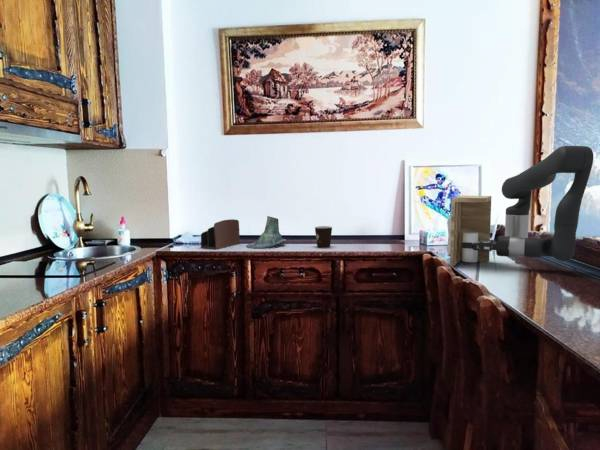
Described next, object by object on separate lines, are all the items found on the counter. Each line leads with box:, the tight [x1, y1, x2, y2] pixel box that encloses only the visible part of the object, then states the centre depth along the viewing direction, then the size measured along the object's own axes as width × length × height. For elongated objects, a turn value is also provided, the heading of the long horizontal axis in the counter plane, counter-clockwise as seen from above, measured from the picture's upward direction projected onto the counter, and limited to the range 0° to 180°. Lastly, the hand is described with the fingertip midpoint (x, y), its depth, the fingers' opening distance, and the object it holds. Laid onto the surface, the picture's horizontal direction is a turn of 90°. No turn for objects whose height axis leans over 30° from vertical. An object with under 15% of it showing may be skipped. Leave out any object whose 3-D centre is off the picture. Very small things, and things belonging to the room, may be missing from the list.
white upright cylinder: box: [461, 232, 479, 263], centre depth 168 cm, size 6×6×11 cm
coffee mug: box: [314, 225, 333, 249], centre depth 218 cm, size 12×9×10 cm
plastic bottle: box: [446, 215, 451, 256], centre depth 187 cm, size 6×7×20 cm
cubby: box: [449, 195, 492, 268], centre depth 168 cm, size 17×12×26 cm
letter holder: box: [200, 218, 241, 250], centre depth 224 cm, size 10×20×14 cm, turn 151°
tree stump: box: [246, 215, 287, 250], centre depth 223 cm, size 18×20×18 cm
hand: (463, 244), depth 169 cm, fingers closed on white upright cylinder, 5 cm apart
